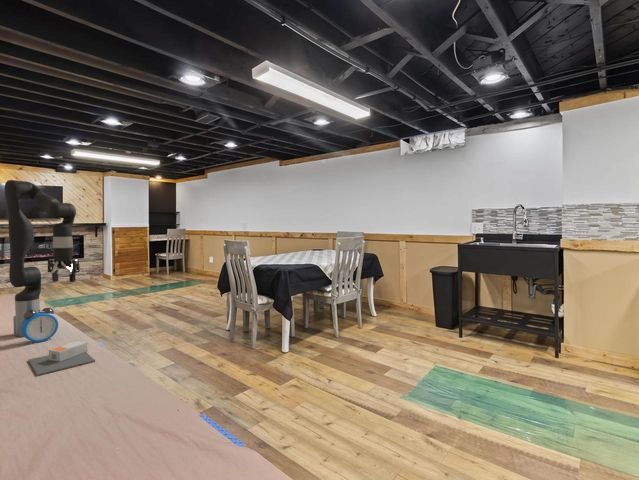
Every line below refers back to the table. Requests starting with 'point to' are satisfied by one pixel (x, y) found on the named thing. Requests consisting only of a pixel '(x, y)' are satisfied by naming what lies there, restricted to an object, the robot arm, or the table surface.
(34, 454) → the table surface
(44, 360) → the rubber mat
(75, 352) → the skincare box
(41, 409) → the table surface
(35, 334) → the alarm clock
